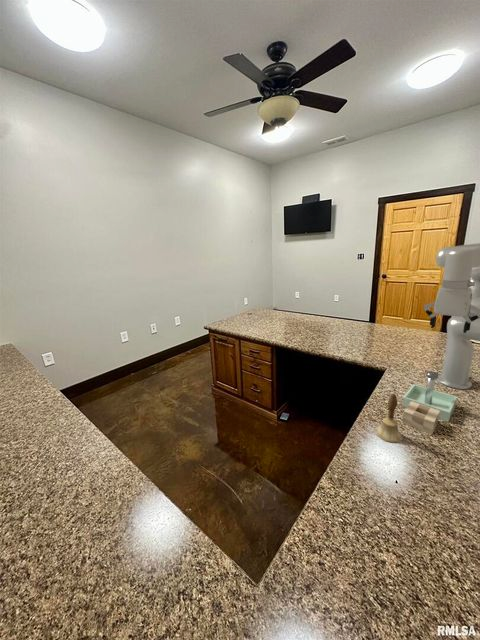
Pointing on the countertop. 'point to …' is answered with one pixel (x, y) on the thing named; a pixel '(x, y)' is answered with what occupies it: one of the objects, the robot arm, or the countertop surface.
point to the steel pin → (430, 386)
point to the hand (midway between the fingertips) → (448, 329)
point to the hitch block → (421, 417)
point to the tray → (439, 401)
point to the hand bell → (389, 424)
